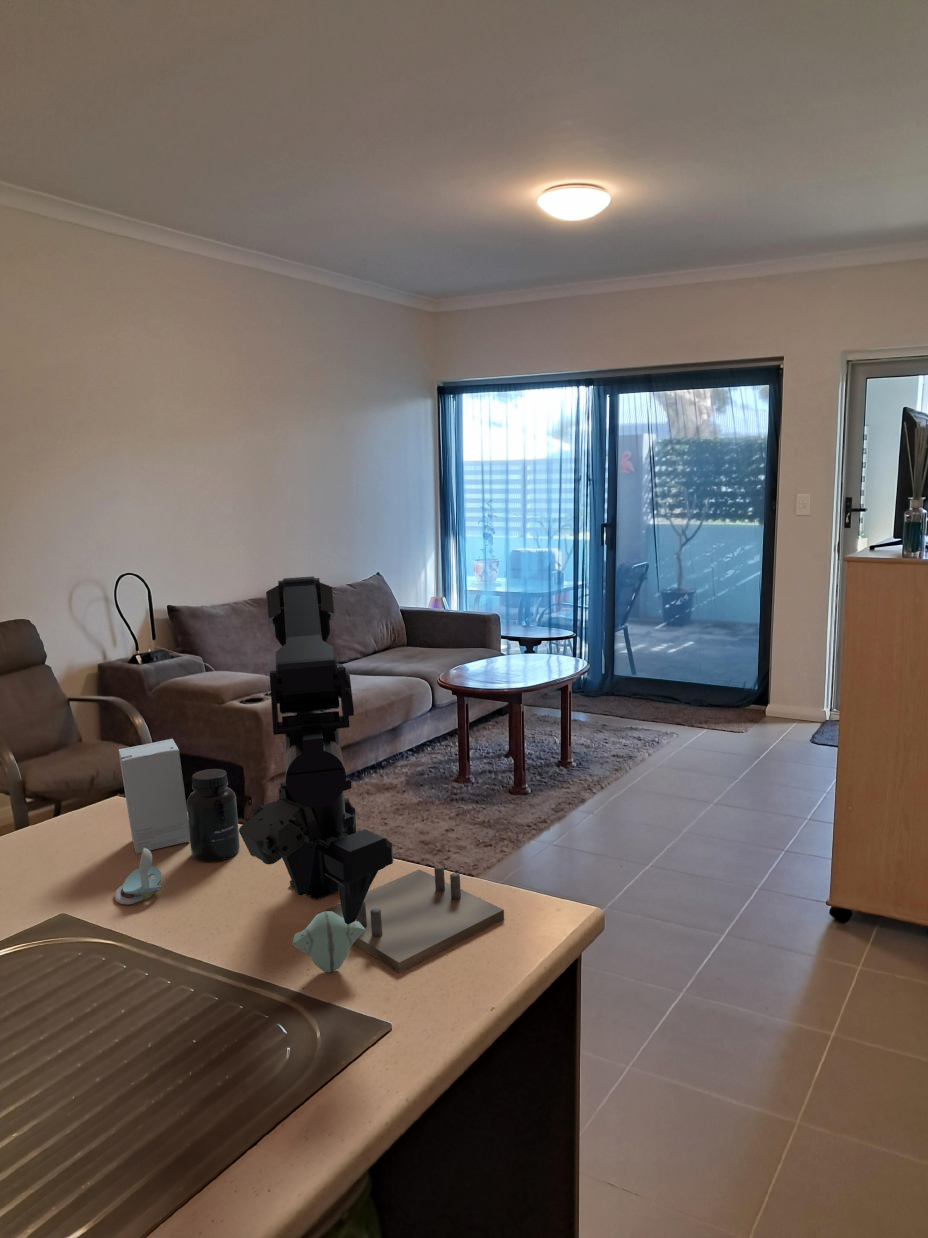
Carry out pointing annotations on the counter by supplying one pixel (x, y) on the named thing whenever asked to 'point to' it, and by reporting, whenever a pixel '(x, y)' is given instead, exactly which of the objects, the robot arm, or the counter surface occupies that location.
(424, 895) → the pin tray
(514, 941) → the counter surface
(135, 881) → the pacifier
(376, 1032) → the counter surface
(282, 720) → the robot arm
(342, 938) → the grey-green curved shell
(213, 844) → the supplement bottle
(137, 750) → the skincare box
